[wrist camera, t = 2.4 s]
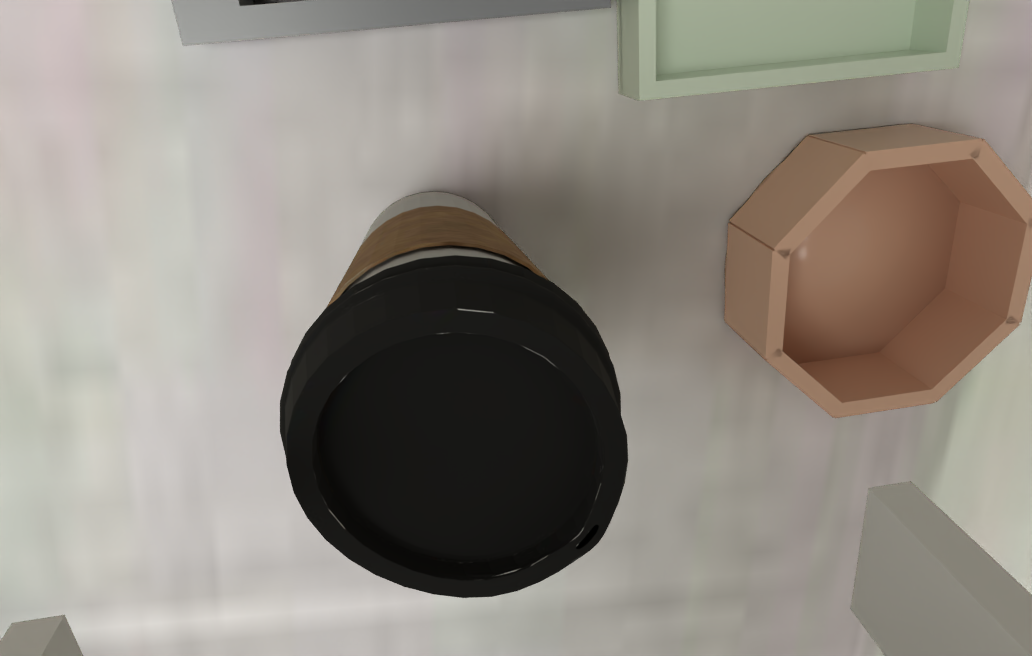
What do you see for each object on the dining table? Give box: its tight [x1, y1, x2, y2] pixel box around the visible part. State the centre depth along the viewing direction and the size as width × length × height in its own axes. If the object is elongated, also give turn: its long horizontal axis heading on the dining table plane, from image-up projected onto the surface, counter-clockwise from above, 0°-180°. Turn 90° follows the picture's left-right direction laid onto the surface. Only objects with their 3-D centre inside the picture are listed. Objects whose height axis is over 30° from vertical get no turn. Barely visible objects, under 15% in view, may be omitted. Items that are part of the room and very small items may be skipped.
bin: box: [724, 124, 1032, 418], centre depth 30 cm, size 11×11×4 cm
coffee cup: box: [280, 192, 628, 598], centre depth 23 cm, size 8×8×15 cm
